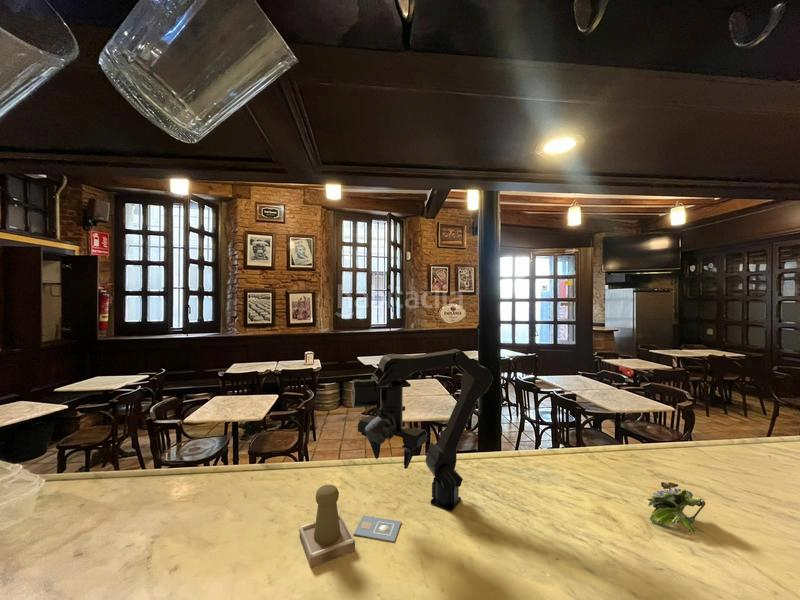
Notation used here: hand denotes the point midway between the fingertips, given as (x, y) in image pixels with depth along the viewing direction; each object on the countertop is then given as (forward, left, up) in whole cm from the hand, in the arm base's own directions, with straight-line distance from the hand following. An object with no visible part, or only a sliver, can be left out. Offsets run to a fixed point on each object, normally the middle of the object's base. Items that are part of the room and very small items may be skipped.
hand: (391, 463), depth 91 cm
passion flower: (-62, -36, -13) cm, 73 cm away
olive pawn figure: (+6, +17, -11) cm, 21 cm away
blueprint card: (-1, +7, -13) cm, 15 cm away
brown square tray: (+6, +18, -13) cm, 23 cm away
